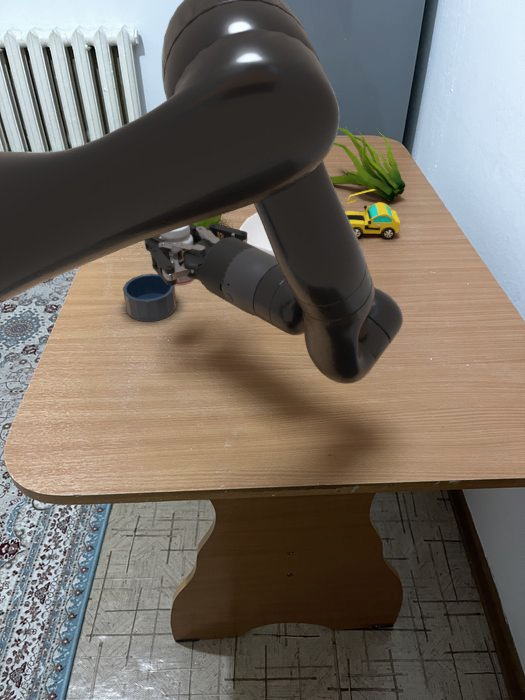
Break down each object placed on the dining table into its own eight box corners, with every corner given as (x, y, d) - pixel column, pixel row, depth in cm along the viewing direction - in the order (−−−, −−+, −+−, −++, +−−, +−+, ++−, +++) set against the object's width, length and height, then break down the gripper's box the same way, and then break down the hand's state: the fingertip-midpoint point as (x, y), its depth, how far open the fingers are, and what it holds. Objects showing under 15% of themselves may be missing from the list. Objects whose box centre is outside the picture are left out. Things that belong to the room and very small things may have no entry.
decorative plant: (341, 158, 148) (346, 99, 139) (407, 202, 127) (419, 136, 117) (279, 168, 142) (280, 107, 133) (337, 216, 121) (343, 147, 112)
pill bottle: (170, 268, 83) (163, 214, 78) (201, 271, 82) (196, 218, 77) (158, 284, 79) (150, 230, 74) (190, 288, 78) (184, 233, 73)
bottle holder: (120, 319, 92) (116, 299, 89) (135, 292, 98) (132, 272, 96) (169, 323, 91) (166, 302, 88) (181, 295, 97) (179, 275, 95)
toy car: (392, 223, 119) (398, 185, 113) (398, 241, 113) (405, 202, 107) (335, 223, 119) (338, 185, 113) (338, 240, 113) (342, 201, 107)
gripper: (288, 230, 70) (200, 192, 80) (200, 273, 63) (114, 225, 72) (287, 282, 75) (204, 240, 85) (205, 327, 67) (124, 276, 77)
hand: (163, 233), depth 78 cm, fingers closed on pill bottle, 4 cm apart
